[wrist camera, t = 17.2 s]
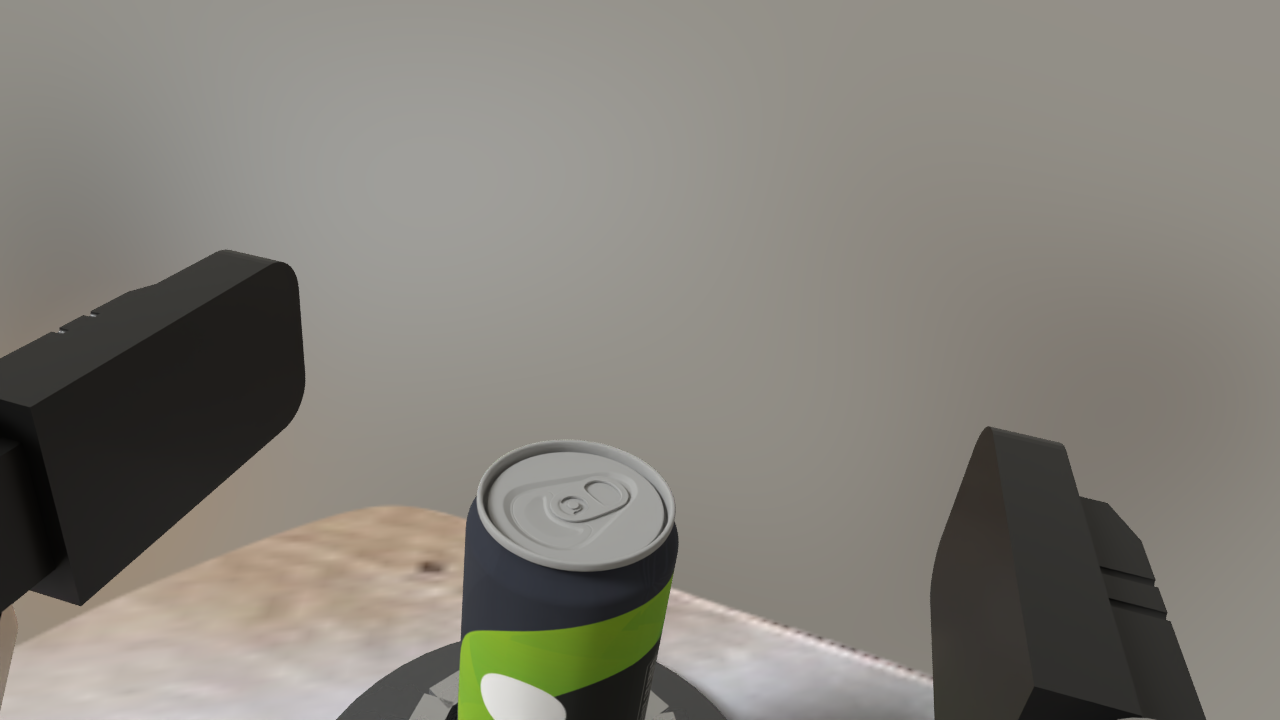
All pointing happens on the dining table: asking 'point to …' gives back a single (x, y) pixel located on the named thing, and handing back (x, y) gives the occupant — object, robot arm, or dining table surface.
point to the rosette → (428, 688)
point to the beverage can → (565, 584)
